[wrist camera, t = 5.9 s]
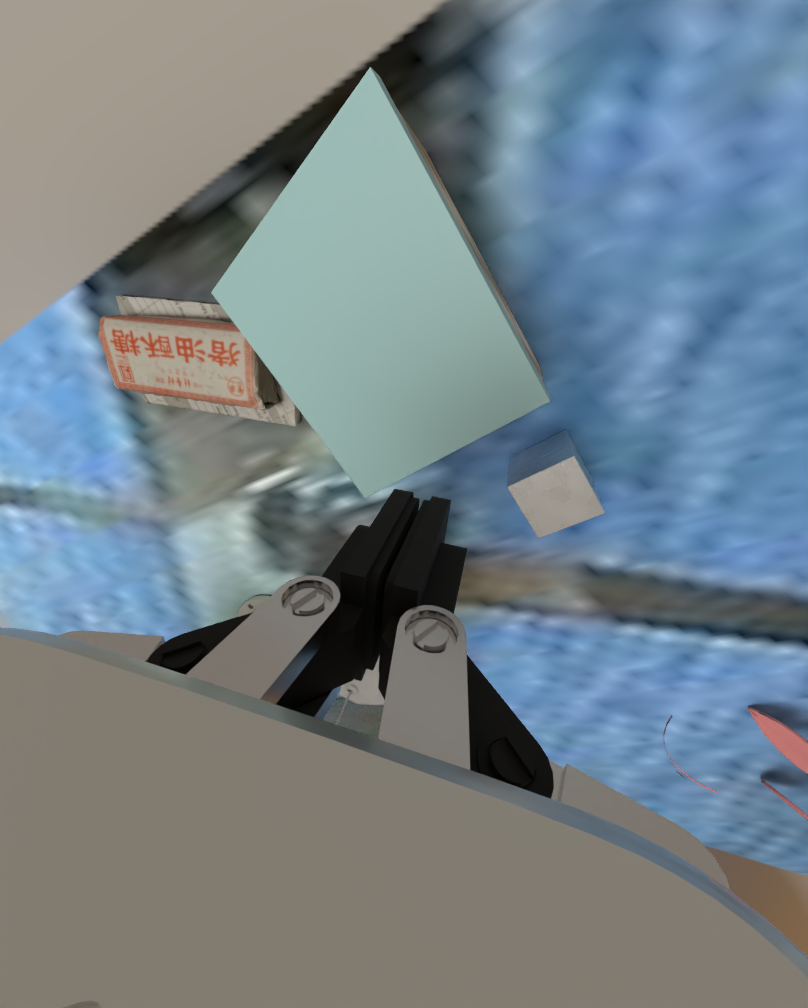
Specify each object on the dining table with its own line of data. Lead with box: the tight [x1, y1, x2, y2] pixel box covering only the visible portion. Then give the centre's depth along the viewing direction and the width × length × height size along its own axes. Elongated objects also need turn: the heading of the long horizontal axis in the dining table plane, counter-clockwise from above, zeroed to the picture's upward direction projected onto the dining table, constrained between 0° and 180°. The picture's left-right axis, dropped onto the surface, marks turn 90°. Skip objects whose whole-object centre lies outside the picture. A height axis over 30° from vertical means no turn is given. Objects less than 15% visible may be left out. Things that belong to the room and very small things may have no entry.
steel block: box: [507, 429, 605, 538], centre depth 30 cm, size 5×5×6 cm
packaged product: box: [98, 295, 300, 426], centre depth 35 cm, size 18×5×10 cm
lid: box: [211, 67, 551, 498], centre depth 22 cm, size 16×14×1 cm
